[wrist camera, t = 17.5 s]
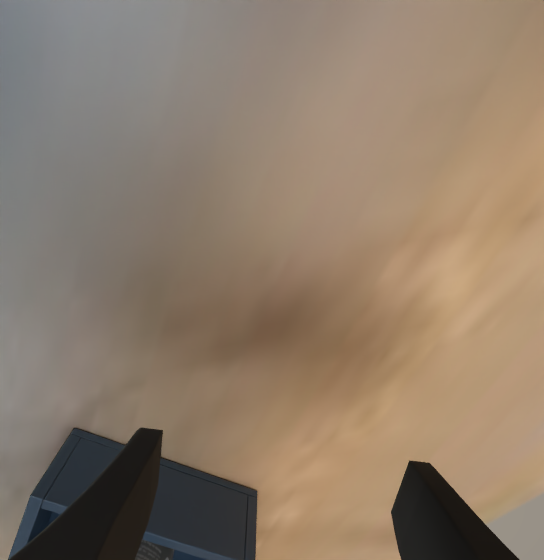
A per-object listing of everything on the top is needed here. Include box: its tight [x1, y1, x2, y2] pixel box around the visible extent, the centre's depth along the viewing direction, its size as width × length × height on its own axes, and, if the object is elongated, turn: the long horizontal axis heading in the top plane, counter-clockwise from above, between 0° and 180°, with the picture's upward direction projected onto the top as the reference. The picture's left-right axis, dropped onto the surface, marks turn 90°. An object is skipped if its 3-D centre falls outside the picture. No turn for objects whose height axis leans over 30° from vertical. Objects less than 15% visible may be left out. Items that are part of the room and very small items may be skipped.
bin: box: [8, 428, 257, 560], centre depth 23 cm, size 11×9×4 cm
